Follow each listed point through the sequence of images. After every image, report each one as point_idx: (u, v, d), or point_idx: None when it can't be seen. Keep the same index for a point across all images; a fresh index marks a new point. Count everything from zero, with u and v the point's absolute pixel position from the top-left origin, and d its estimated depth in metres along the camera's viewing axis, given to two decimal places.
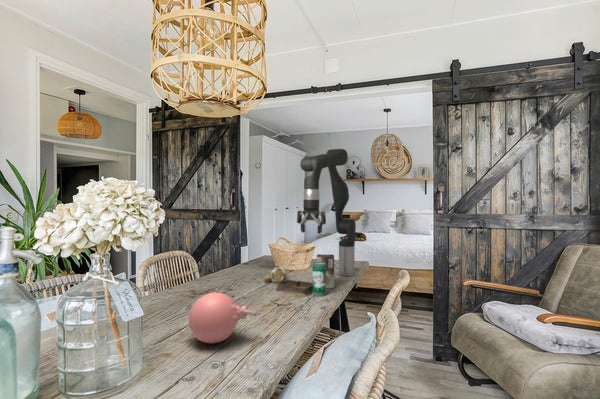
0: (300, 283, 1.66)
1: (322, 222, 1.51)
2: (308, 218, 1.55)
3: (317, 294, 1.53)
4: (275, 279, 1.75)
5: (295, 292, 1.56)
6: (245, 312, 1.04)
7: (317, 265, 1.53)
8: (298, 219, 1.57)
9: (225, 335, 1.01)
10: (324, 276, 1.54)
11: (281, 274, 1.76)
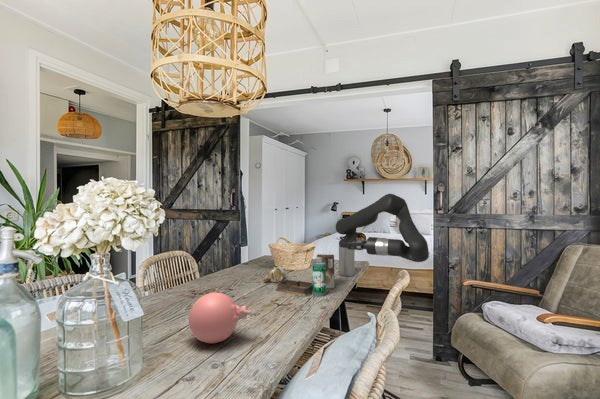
0: (300, 283, 1.66)
1: None
2: None
3: (317, 294, 1.53)
4: (274, 279, 1.75)
5: (295, 292, 1.56)
6: (245, 312, 1.04)
7: (317, 265, 1.53)
8: None
9: (225, 335, 1.01)
10: (324, 276, 1.54)
11: (280, 274, 1.76)
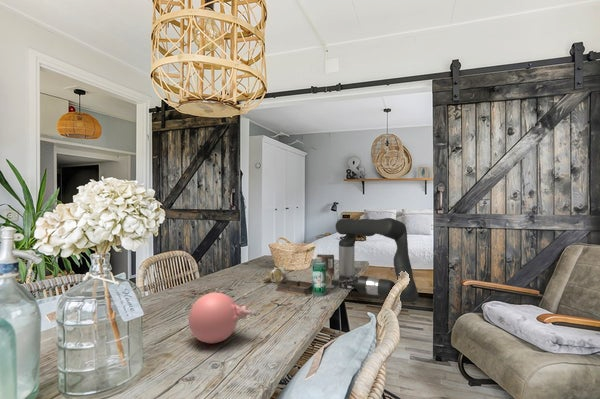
0: (300, 283, 1.66)
1: None
2: None
3: (317, 294, 1.53)
4: (274, 279, 1.74)
5: (295, 292, 1.56)
6: (245, 312, 1.04)
7: (317, 265, 1.53)
8: None
9: (225, 335, 1.01)
10: (324, 276, 1.54)
11: (281, 274, 1.76)
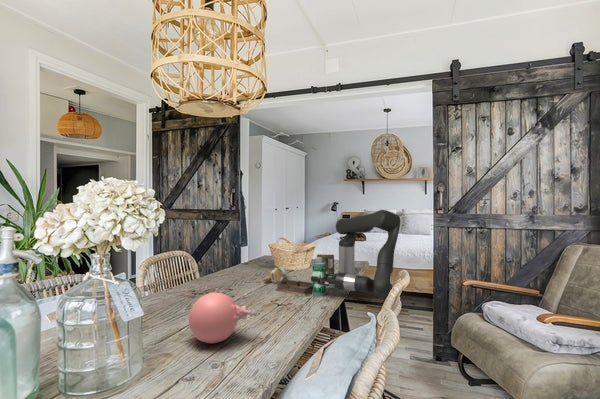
0: (300, 283, 1.66)
1: None
2: None
3: (317, 294, 1.53)
4: (275, 279, 1.74)
5: (295, 292, 1.56)
6: (245, 312, 1.04)
7: (317, 265, 1.53)
8: None
9: (225, 335, 1.01)
10: None
11: (281, 274, 1.75)
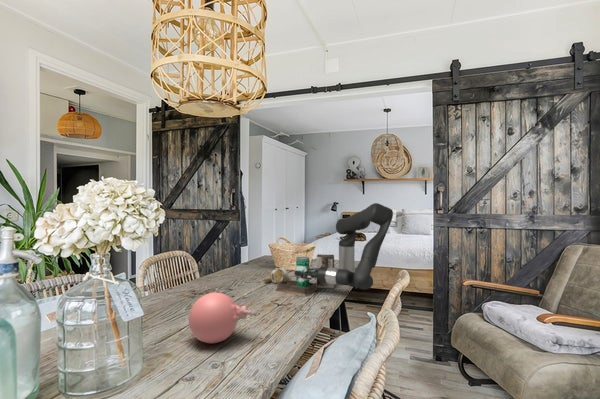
0: None
1: None
2: None
3: None
4: (275, 280, 1.73)
5: (295, 292, 1.56)
6: (245, 312, 1.04)
7: (300, 260, 1.57)
8: None
9: (225, 335, 1.01)
10: None
11: (281, 275, 1.74)
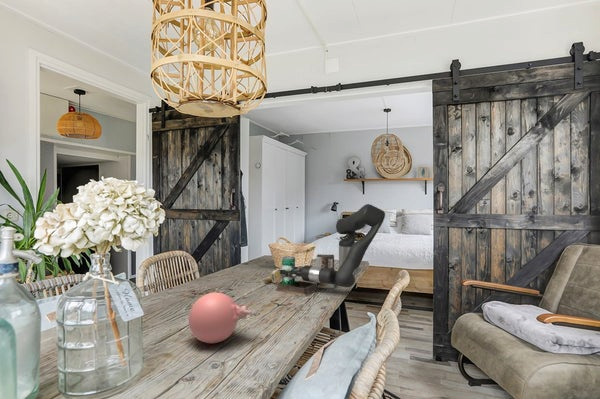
0: (300, 283, 1.66)
1: None
2: None
3: None
4: (275, 280, 1.72)
5: (295, 292, 1.56)
6: (245, 312, 1.04)
7: (286, 259, 1.61)
8: None
9: (225, 335, 1.01)
10: None
11: (281, 276, 1.73)
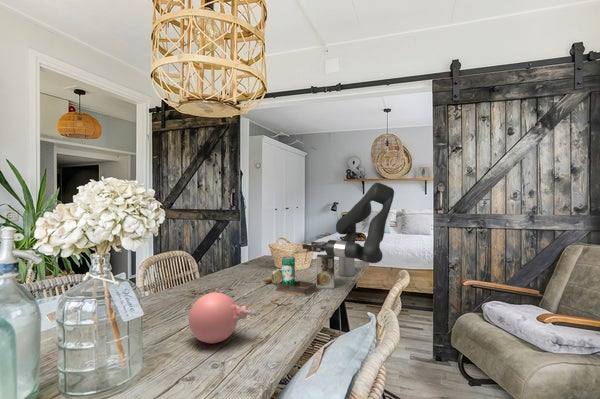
0: (300, 283, 1.66)
1: None
2: None
3: None
4: (274, 281, 1.72)
5: (295, 292, 1.56)
6: (245, 312, 1.04)
7: (286, 259, 1.61)
8: None
9: (225, 335, 1.01)
10: (293, 270, 1.63)
11: (281, 276, 1.72)
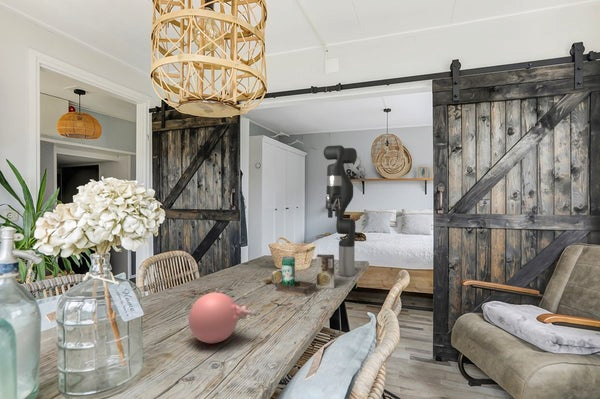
0: (300, 283, 1.66)
1: (341, 206, 1.71)
2: (335, 203, 1.64)
3: None
4: (274, 281, 1.71)
5: (295, 292, 1.56)
6: (245, 312, 1.04)
7: (286, 259, 1.61)
8: (330, 205, 1.60)
9: (225, 335, 1.01)
10: (293, 270, 1.63)
11: (281, 276, 1.71)
